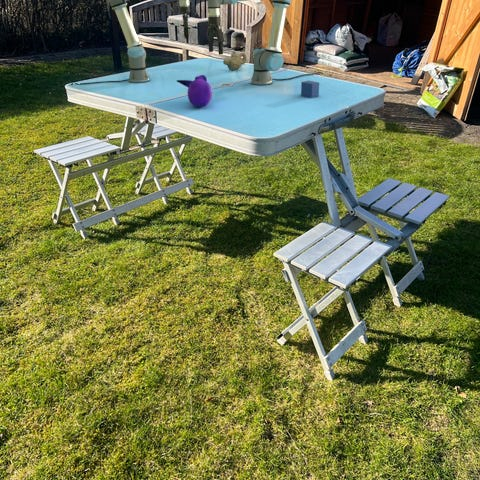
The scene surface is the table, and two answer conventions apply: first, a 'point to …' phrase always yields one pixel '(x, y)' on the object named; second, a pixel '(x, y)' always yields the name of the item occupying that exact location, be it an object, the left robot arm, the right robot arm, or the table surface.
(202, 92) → the toy
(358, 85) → the table surface
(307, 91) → the brick
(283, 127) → the table surface
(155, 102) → the table surface
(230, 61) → the teapot
